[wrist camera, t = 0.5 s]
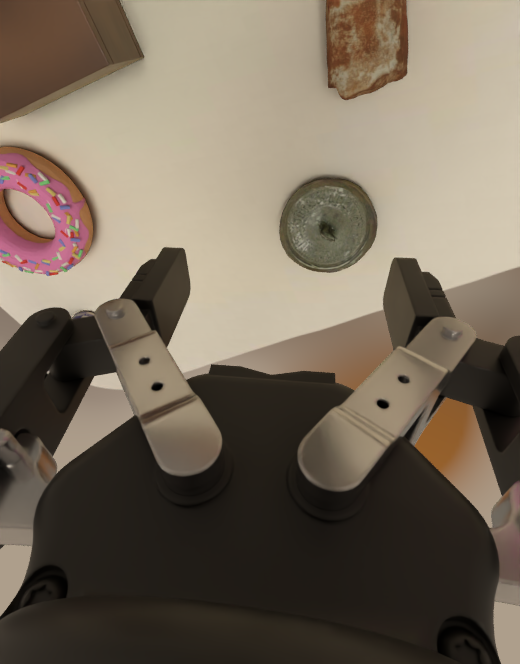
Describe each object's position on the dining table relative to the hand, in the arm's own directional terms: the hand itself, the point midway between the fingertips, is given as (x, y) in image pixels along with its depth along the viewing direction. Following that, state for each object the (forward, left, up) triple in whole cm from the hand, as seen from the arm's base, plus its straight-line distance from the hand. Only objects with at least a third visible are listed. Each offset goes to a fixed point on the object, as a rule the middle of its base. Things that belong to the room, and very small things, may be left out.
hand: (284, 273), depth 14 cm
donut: (+10, -30, -28) cm, 42 cm away
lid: (+10, +4, -28) cm, 30 cm away
